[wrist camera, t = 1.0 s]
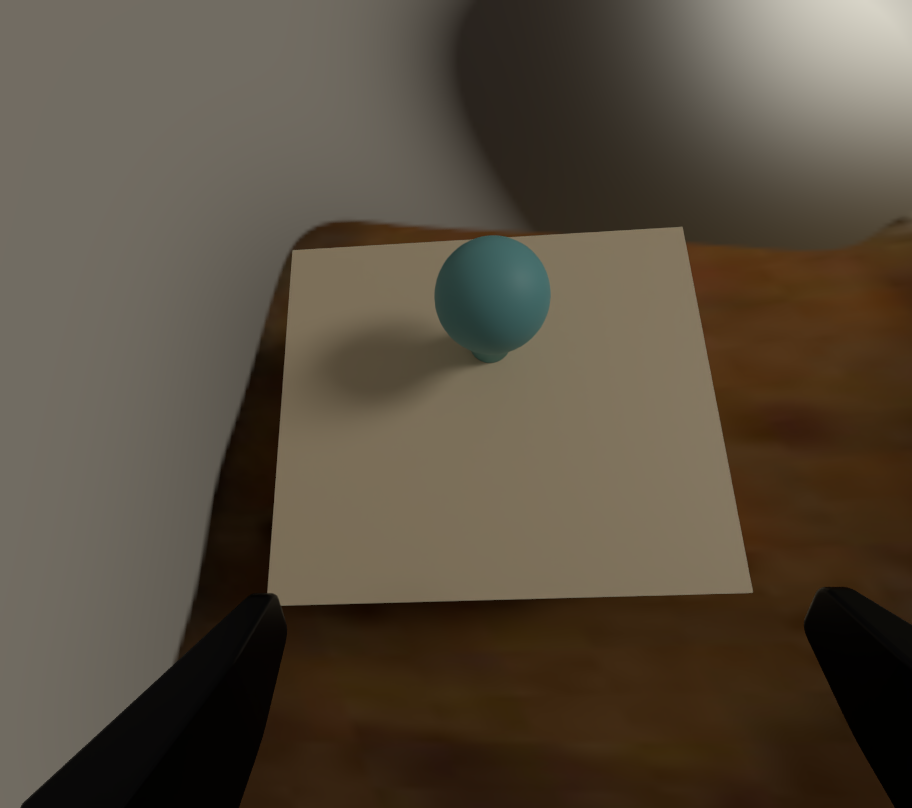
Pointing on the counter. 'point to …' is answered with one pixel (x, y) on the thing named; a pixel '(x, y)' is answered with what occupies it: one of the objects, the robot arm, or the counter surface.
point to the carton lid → (500, 425)
